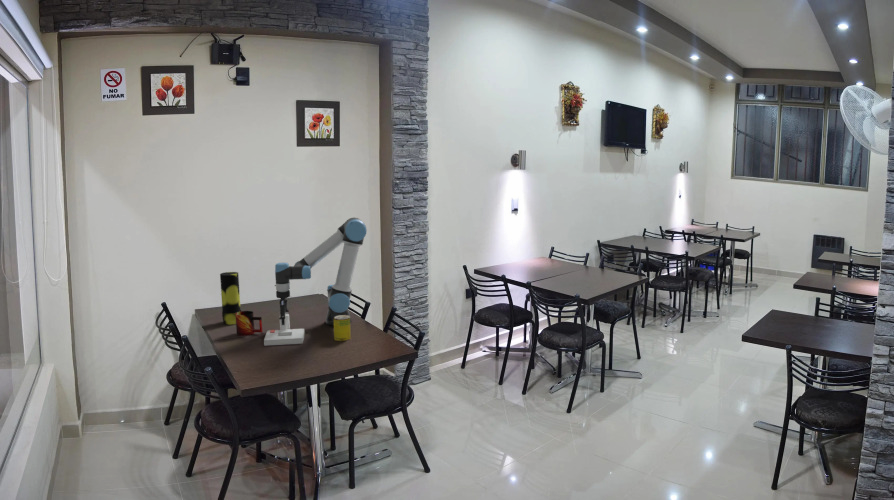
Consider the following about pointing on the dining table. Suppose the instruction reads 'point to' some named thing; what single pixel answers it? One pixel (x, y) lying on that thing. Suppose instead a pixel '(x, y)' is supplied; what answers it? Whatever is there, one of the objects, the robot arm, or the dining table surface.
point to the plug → (286, 321)
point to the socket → (284, 337)
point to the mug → (246, 323)
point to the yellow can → (342, 328)
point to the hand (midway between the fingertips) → (284, 326)
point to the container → (230, 296)
